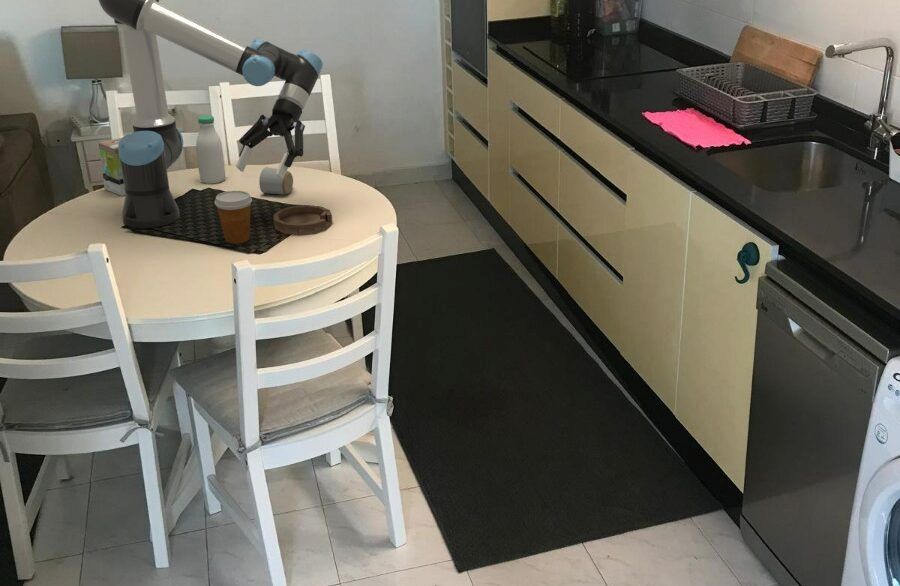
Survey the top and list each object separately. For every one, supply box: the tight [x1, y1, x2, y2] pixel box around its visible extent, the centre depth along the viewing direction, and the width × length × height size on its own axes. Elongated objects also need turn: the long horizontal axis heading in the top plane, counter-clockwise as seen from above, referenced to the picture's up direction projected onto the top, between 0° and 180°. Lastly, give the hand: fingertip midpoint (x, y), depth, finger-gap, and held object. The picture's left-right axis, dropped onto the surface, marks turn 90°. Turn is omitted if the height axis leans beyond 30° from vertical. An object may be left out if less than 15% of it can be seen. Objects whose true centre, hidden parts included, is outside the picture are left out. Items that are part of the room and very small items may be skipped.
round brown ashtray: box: [272, 204, 333, 236], centre depth 262 cm, size 15×15×3 cm
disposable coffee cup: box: [214, 190, 253, 245], centre depth 251 cm, size 10×10×12 cm
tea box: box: [98, 137, 126, 197], centre depth 289 cm, size 15×10×15 cm, turn 138°
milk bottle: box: [195, 114, 226, 185], centre depth 293 cm, size 8×8×20 cm
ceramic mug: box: [258, 166, 294, 195], centre depth 286 cm, size 11×8×8 cm
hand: (258, 173), depth 255 cm, fingers open, 13 cm apart
